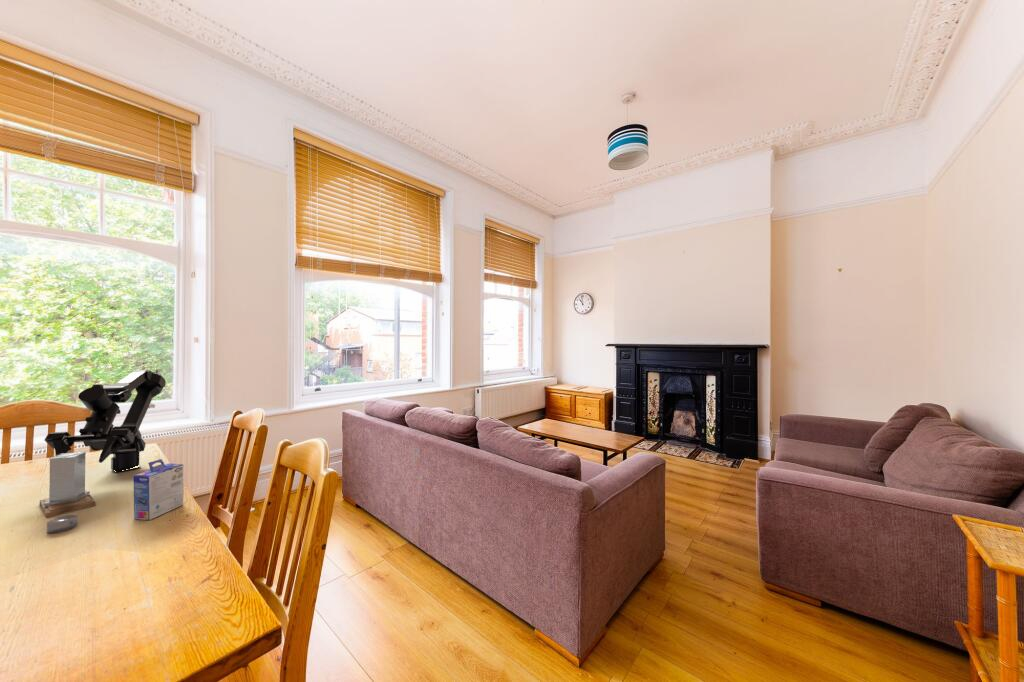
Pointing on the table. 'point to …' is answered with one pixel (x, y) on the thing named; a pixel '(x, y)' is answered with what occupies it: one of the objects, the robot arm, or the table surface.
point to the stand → (67, 506)
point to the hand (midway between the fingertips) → (79, 463)
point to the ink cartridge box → (158, 490)
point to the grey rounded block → (61, 524)
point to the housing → (67, 479)
